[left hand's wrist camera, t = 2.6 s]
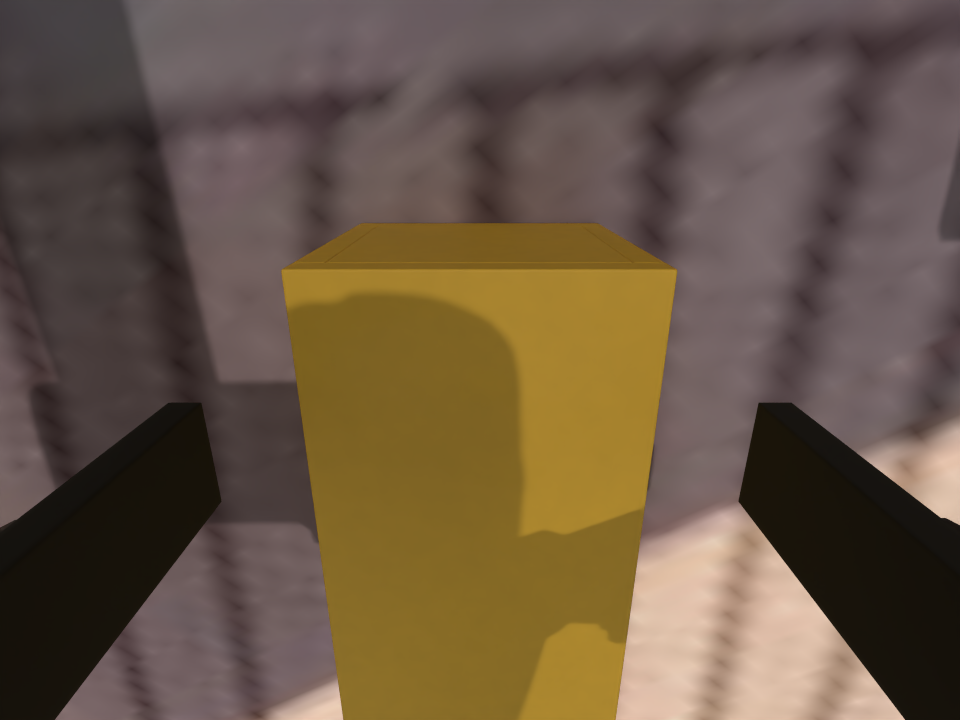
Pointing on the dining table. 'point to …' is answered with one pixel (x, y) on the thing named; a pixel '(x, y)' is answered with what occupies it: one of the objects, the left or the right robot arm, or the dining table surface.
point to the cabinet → (479, 460)
